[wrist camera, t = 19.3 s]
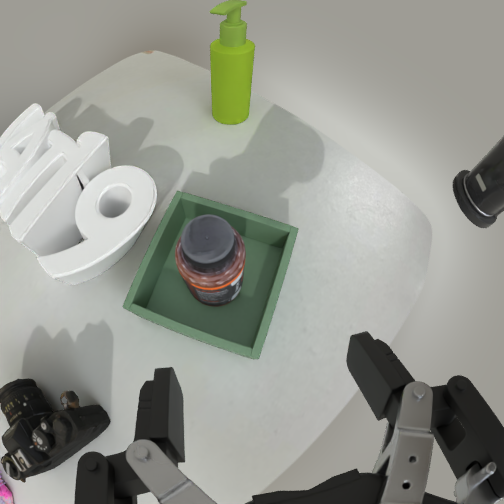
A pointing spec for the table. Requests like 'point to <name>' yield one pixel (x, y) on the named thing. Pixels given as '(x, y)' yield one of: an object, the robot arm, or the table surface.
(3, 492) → the candy landscape model
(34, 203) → the white letter sculpture
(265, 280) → the green square tray
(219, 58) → the soap dispenser
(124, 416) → the table surface
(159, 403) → the robot arm
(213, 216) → the supplement bottle
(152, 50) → the table surface
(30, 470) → the film camera
